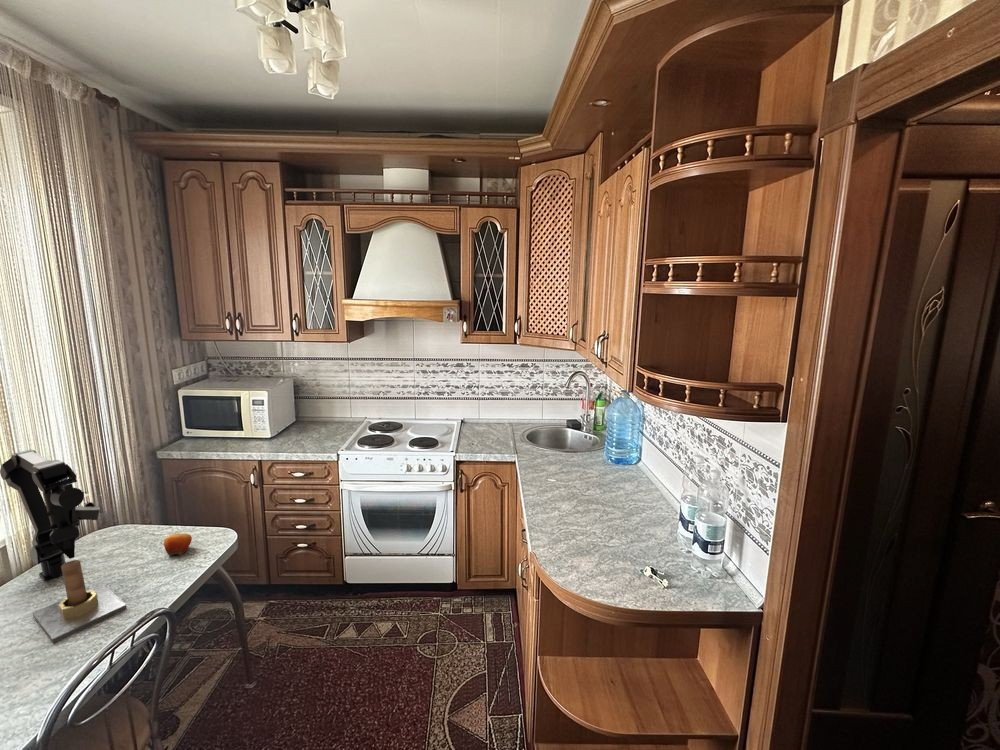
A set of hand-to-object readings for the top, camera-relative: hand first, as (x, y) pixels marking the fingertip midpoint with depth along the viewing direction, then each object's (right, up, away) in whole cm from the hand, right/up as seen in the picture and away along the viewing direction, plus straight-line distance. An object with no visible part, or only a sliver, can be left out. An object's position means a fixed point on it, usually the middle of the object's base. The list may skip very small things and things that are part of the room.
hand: (72, 553), depth 144 cm
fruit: (+17, -8, +22) cm, 29 cm away
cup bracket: (+10, -14, -8) cm, 19 cm away
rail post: (+10, -13, -8) cm, 18 cm away
